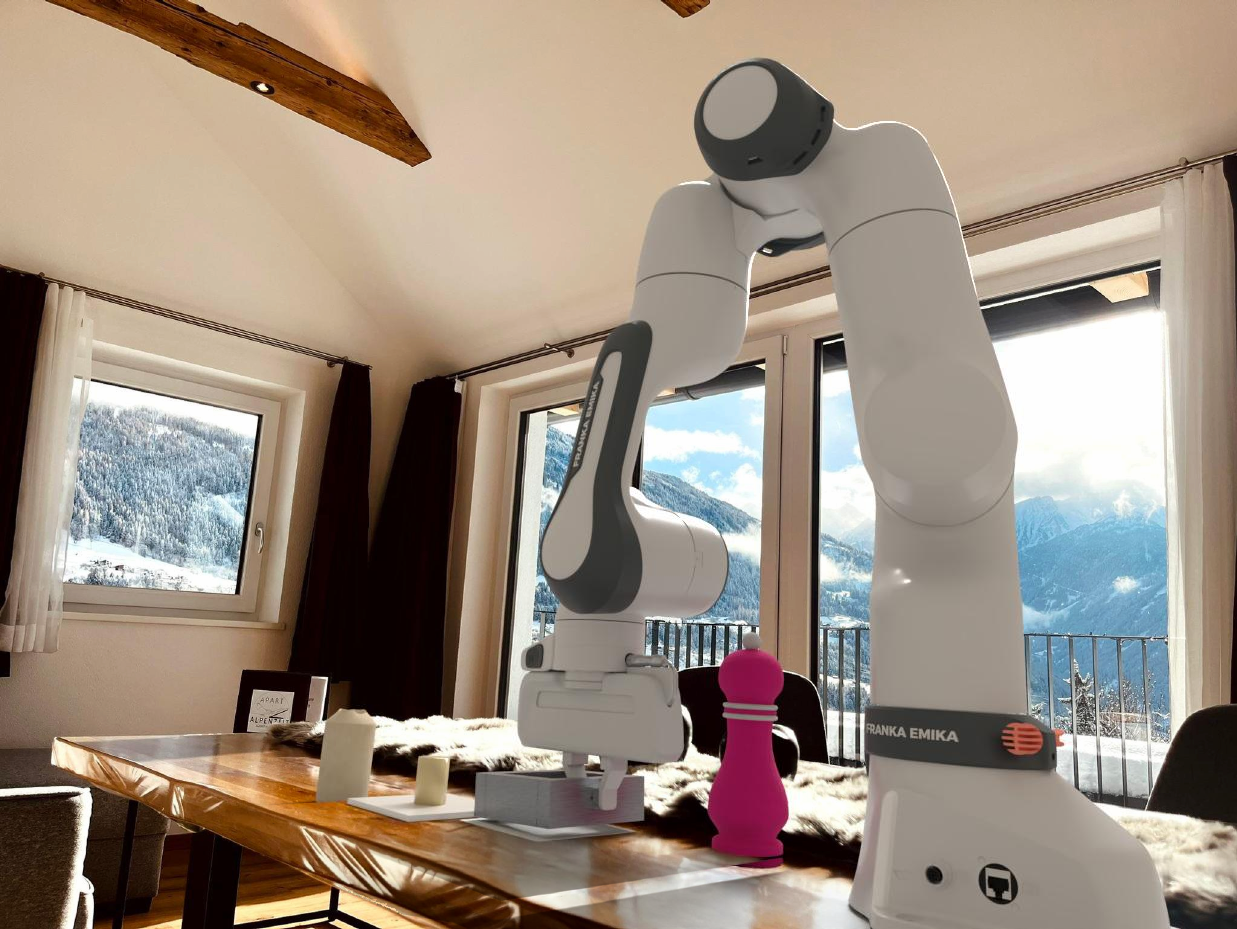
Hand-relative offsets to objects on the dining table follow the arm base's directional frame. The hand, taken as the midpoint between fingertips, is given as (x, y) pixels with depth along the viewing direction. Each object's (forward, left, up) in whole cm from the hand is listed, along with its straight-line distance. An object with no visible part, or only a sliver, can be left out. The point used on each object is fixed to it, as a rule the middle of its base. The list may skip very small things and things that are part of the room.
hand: (592, 806), depth 82 cm
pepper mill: (-12, -8, -4) cm, 15 cm away
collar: (+5, 0, -2) cm, 5 cm away
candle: (+31, +9, -4) cm, 33 cm away
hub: (+18, +6, -3) cm, 20 cm away
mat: (+5, +1, -3) cm, 6 cm away
